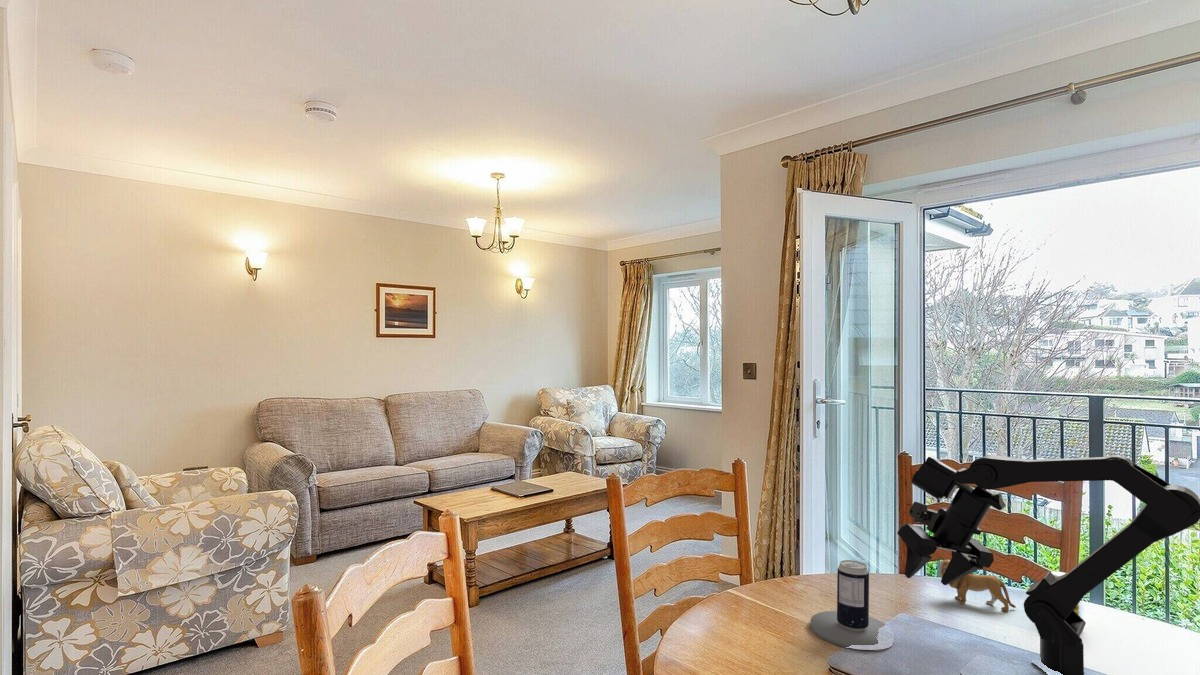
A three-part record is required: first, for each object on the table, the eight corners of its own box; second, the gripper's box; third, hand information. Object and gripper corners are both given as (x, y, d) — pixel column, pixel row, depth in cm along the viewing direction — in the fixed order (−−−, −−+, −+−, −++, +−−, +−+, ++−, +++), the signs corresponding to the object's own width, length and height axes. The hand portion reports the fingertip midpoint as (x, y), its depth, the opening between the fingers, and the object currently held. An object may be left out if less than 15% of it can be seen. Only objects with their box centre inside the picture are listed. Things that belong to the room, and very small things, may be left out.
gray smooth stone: (907, 654, 109) (907, 647, 110) (821, 647, 111) (821, 641, 111) (878, 619, 124) (878, 613, 124) (803, 614, 126) (803, 608, 126)
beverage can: (875, 631, 116) (875, 568, 116) (849, 634, 114) (850, 569, 115) (855, 619, 121) (855, 558, 122) (830, 621, 120) (831, 560, 120)
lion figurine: (941, 603, 134) (941, 562, 135) (937, 595, 139) (937, 555, 140) (1019, 614, 129) (1019, 571, 130) (1012, 605, 134) (1011, 563, 135)
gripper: (969, 499, 126) (933, 560, 130) (898, 481, 120) (863, 545, 124) (1013, 533, 115) (972, 598, 119) (937, 516, 110) (897, 584, 114)
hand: (925, 580), depth 120 cm, fingers open, 9 cm apart
